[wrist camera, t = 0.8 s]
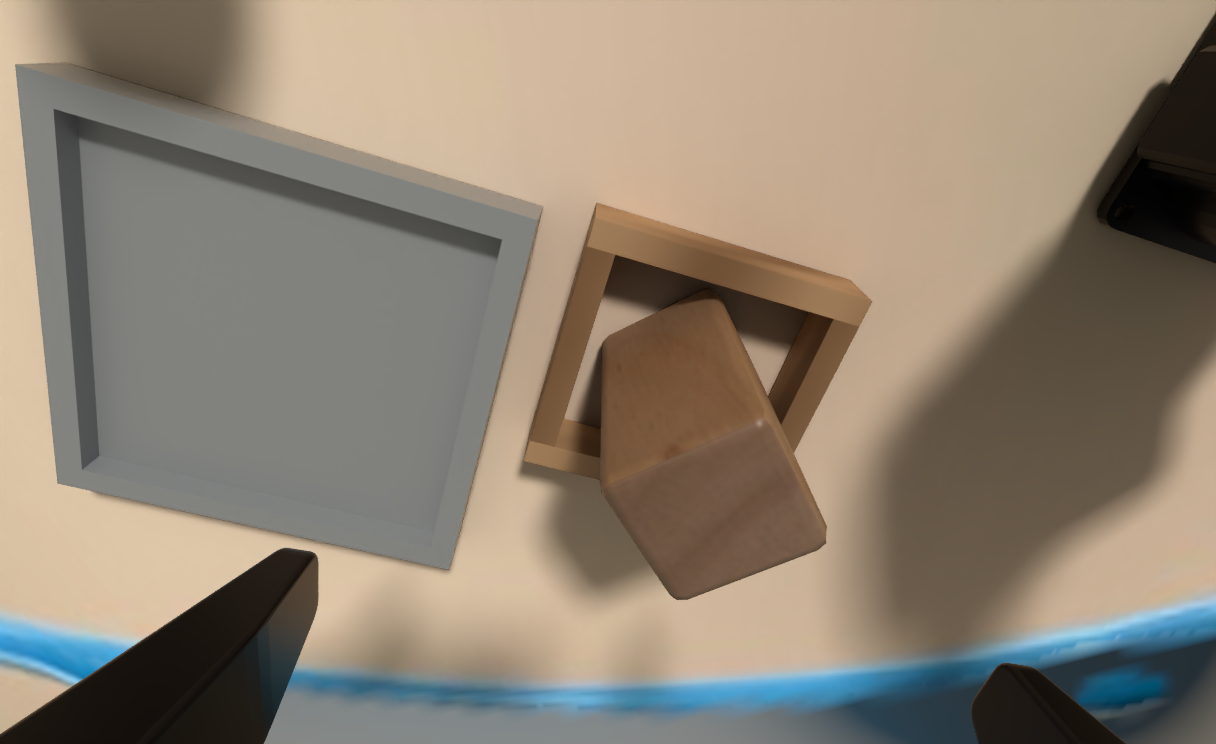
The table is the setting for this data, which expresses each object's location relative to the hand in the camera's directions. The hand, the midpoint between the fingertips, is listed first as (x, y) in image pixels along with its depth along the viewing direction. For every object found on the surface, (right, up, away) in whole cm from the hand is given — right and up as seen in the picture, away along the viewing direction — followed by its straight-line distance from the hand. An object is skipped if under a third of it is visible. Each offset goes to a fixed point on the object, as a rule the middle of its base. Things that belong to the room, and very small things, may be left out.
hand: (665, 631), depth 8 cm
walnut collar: (+2, +4, +13) cm, 13 cm away
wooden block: (+2, +4, +13) cm, 14 cm away
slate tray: (-11, +4, +12) cm, 17 cm away
